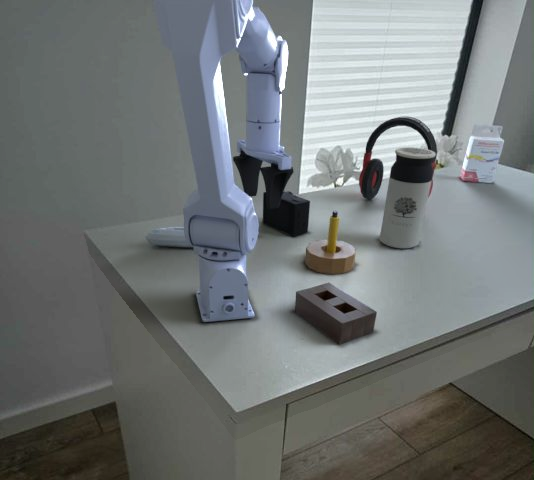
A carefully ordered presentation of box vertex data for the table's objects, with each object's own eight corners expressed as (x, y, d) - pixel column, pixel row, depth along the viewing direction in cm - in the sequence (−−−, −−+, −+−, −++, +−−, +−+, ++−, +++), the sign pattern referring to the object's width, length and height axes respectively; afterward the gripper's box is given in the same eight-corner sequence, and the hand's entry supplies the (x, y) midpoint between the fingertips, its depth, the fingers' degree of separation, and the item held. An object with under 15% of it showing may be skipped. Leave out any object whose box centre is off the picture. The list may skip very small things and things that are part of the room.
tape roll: (360, 272, 90) (362, 256, 88) (313, 275, 88) (315, 260, 87) (343, 252, 97) (345, 238, 96) (299, 255, 96) (300, 241, 94)
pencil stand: (339, 344, 70) (342, 323, 68) (294, 311, 77) (295, 291, 75) (373, 332, 73) (377, 311, 71) (326, 301, 80) (328, 282, 78)
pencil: (335, 265, 92) (341, 212, 87) (327, 265, 92) (332, 213, 87) (332, 261, 94) (338, 209, 88) (324, 262, 93) (329, 210, 88)
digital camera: (312, 231, 107) (314, 199, 103) (293, 237, 104) (295, 204, 100) (280, 218, 113) (282, 187, 109) (262, 223, 110) (263, 191, 106)
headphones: (431, 204, 125) (450, 118, 114) (419, 215, 118) (437, 124, 107) (367, 192, 132) (378, 110, 121) (351, 201, 125) (362, 115, 114)
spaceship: (148, 254, 94) (145, 231, 92) (145, 242, 99) (142, 220, 97) (264, 243, 100) (265, 222, 98) (256, 232, 105) (256, 212, 103)
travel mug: (386, 232, 107) (401, 145, 97) (422, 240, 104) (442, 150, 94) (373, 243, 102) (388, 152, 92) (411, 252, 98) (430, 158, 88)
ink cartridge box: (463, 181, 144) (476, 127, 136) (459, 177, 148) (472, 124, 140) (493, 183, 143) (508, 128, 135) (489, 178, 147) (503, 125, 139)
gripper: (308, 125, 79) (303, 209, 86) (260, 112, 89) (259, 188, 96) (272, 129, 75) (269, 216, 83) (226, 114, 85) (227, 193, 93)
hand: (261, 201), depth 89 cm, fingers open, 7 cm apart
